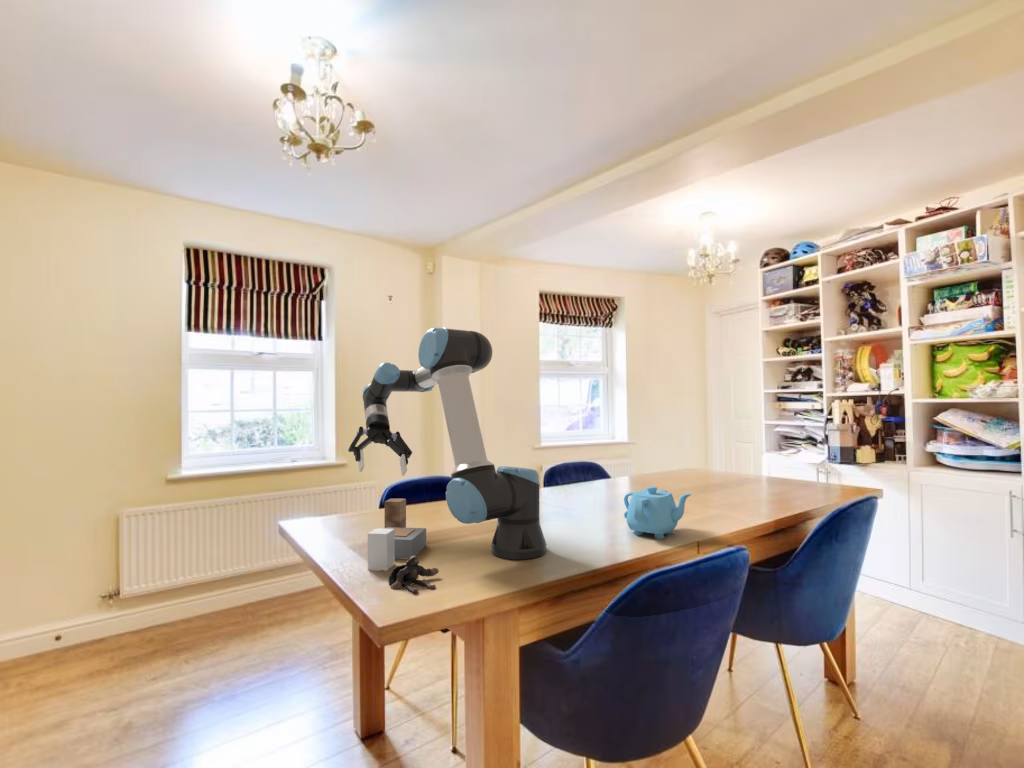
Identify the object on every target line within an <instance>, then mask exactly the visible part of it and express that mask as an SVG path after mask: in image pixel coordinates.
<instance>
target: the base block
mask: <svg viewBox="0 0 1024 768" xmlns="http://www.w3.org/2000/svg"><path fill="white" fill-rule="evenodd" d="M384 529H395V559H402V558H409V557H411V556H417V555H418V554H419V553H420V552H421V551H422V550H423V549H424V548H426V547H427V528H426V527H406V528H399V527H386V528H385V527H384ZM425 546H426V547H425ZM416 554H417V555H416Z"/></svg>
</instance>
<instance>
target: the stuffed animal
mask: <svg viewBox="0 0 1024 768" xmlns="http://www.w3.org/2000/svg"><path fill="white" fill-rule="evenodd" d="M406 560H407V561H406V563H405V564H401V565H397V566H395V567H394V568H393V569H392V571H391V573H390V575H389V576H388V585H389V586H390V589H391V590H392V589H393V590H400V588H402V587H401V586H403V587H404V590H405V589H406V591H407V590H408V592H409V593H410V592H412V593H411V594H416V593H418V592H419V589H418V588H417V587H415V588H414V587H413V586H412V585H415V584H418V585H417V586H421V585H422V587H423V588H425V587H426V588H425V589H429V588H433V589H435V588H436V587H437V586H436V584H431V583H430V582H429V581H428V580H417V579H418V577H419V576H420V577H426V578H428V577H435V576H436V575H438V574H439V571H440V570H439V568H437V567H432V568H430V567H429V568H425V567H424V566H423V565H420V564H419V557H418V556H417V555H415V556H411V557H409V559H406ZM418 575H419V576H418ZM403 582H404V583H403ZM412 583H414V584H412ZM411 584H412V585H411Z"/></svg>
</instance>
